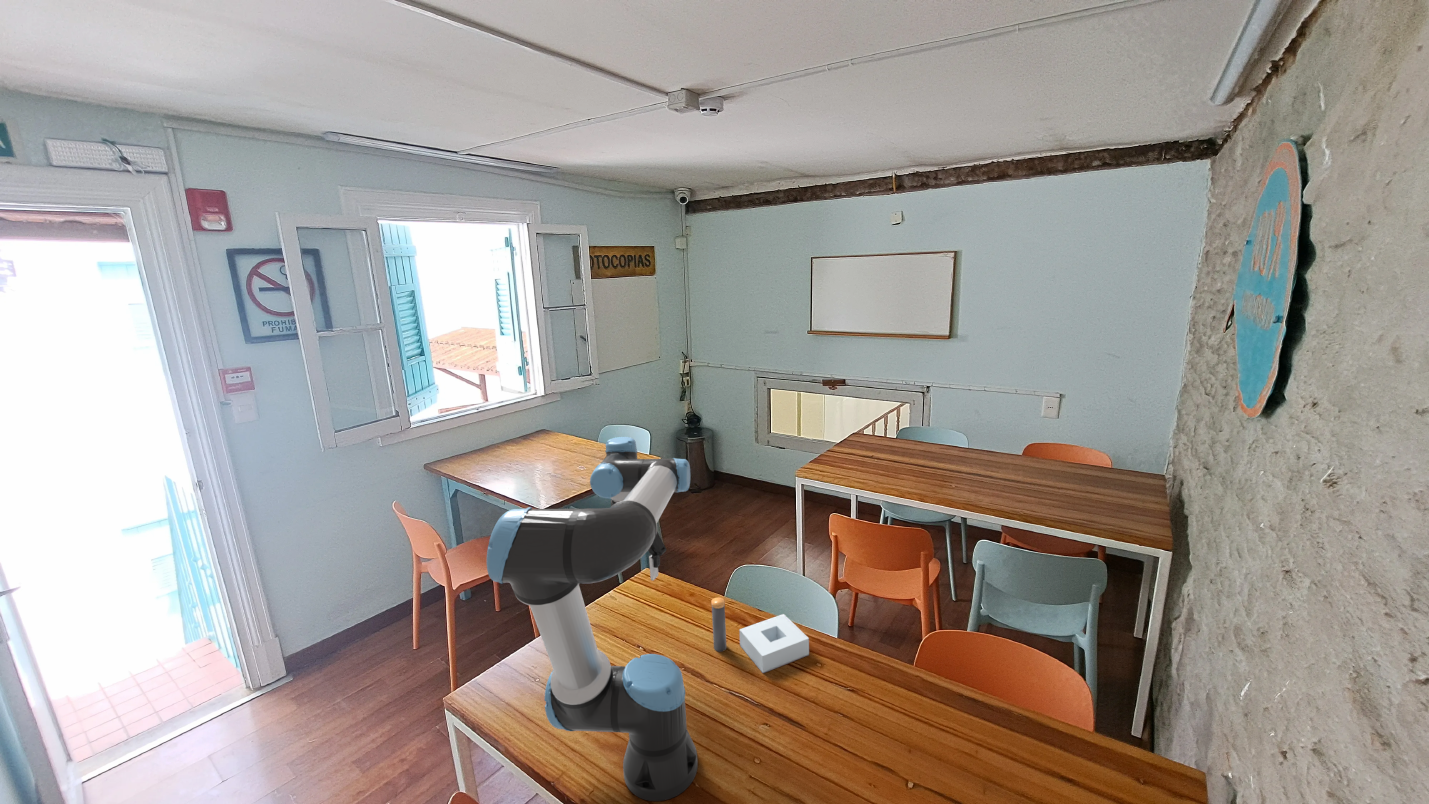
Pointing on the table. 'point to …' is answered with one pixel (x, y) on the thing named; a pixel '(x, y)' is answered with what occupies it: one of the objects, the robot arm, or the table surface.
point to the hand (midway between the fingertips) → (631, 573)
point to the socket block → (774, 643)
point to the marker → (719, 624)
